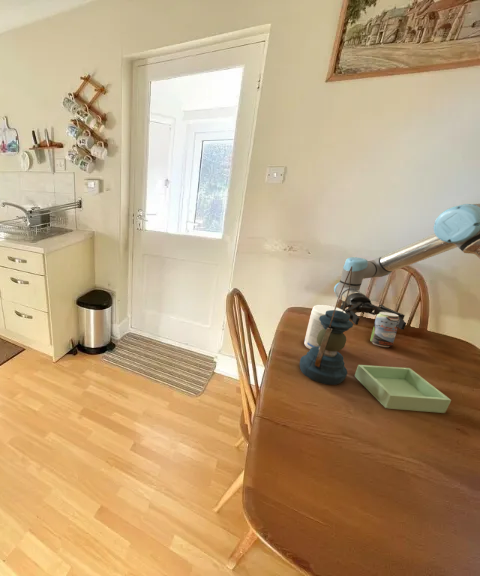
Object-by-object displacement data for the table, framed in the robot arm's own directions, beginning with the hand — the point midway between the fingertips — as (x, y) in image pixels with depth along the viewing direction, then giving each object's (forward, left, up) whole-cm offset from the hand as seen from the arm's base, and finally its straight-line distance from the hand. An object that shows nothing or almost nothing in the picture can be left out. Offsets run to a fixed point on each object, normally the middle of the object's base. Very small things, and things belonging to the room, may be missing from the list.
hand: (380, 323), depth 112 cm
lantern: (+30, +25, -7) cm, 39 cm away
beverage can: (+1, +4, -7) cm, 8 cm away
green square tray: (+14, +32, -6) cm, 35 cm away
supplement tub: (+23, +9, -7) cm, 25 cm away
